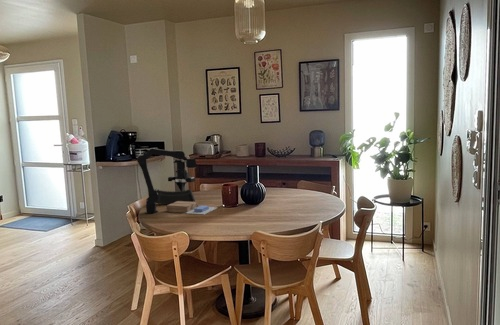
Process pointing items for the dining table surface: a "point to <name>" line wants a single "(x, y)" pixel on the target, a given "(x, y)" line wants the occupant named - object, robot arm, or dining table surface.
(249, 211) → the dining table surface
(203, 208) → the card box
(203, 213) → the mat
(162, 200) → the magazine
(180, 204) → the board
